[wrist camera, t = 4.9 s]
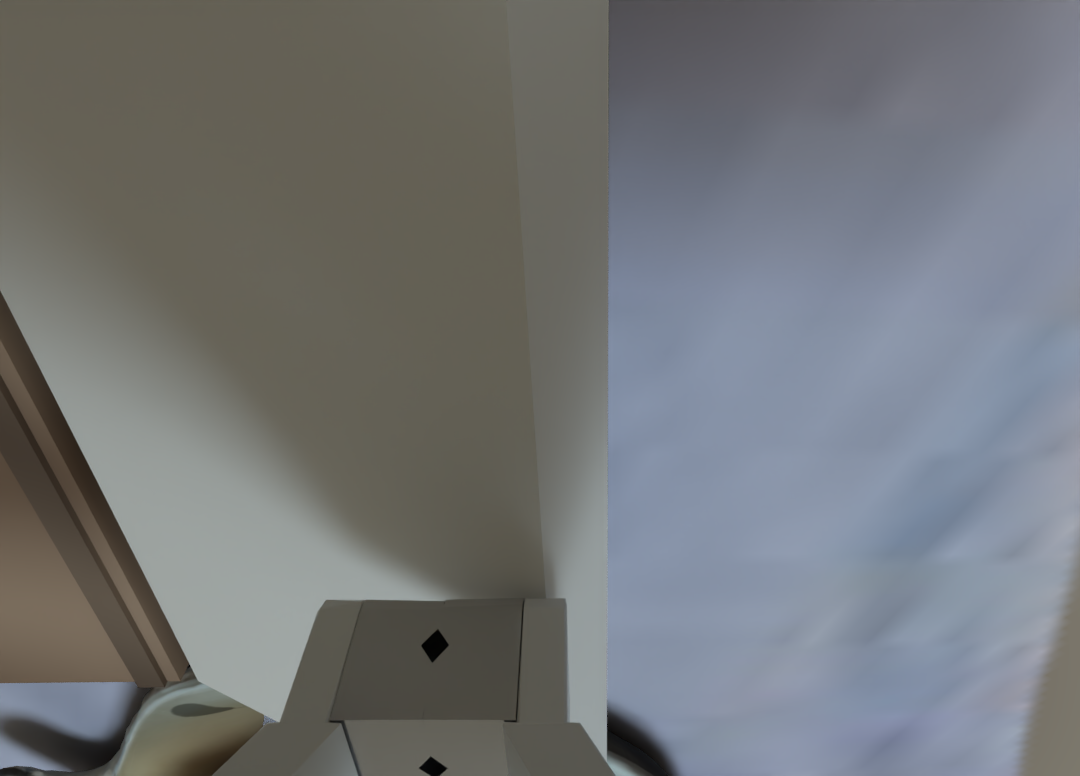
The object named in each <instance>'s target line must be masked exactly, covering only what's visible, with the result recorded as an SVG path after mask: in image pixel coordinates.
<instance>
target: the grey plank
mask: <svg viewBox="0 0 1080 776" xmlns="http://www.w3.org/2000/svg"><path fill="white" fill-rule="evenodd" d="M608 97H609V0H0V291H1V293H2V295H3V297H4V299H5V301H6V303H7V305H8V307H9V309H10V311H11V313H12V315H13V316H14V318H15V320H16V322H17V324H18V326H19V328H20V330H21V332H22V334H23V336H24V338H25V340H26V342H27V344H28V346H29V348H30V350H31V352H32V354H33V356H34V358H35V360H36V362H37V364H38V366H39V368H40V370H41V372H42V374H43V376H44V378H45V380H46V382H47V384H48V386H49V388H50V390H51V392H52V393H53V395H54V397H55V399H56V401H57V403H58V405H59V407H60V409H61V411H62V413H63V415H64V417H65V419H66V421H67V423H68V425H69V427H70V429H71V431H72V433H73V435H74V437H75V439H76V441H77V443H78V445H79V447H80V449H81V451H82V453H83V455H84V457H85V459H86V461H87V463H88V465H89V467H90V469H91V470H92V472H93V474H94V476H95V478H96V480H97V482H98V484H99V486H100V488H101V490H102V492H103V494H104V496H105V498H106V500H107V502H108V504H109V506H110V508H111V510H112V512H113V514H114V516H115V518H116V520H117V522H118V524H119V526H120V528H121V530H122V532H123V534H124V536H125V538H126V540H127V542H128V544H129V546H130V547H131V549H132V551H133V553H134V555H135V557H136V559H137V561H138V563H139V565H140V567H141V569H142V571H143V573H144V575H145V577H146V579H147V581H148V583H149V585H150V587H151V589H152V591H153V593H154V595H155V597H156V599H157V601H158V603H159V605H160V607H161V609H162V611H163V613H164V615H165V617H166V619H167V621H168V623H169V624H170V626H171V628H172V630H173V632H174V634H175V636H176V638H177V640H178V642H179V644H180V646H181V648H182V650H183V652H184V654H185V656H186V658H187V660H188V662H189V664H190V666H191V668H192V670H193V672H194V674H195V676H196V678H197V680H198V681H199V682H201V683H203V684H205V685H207V686H209V687H211V688H213V689H215V690H217V691H219V692H220V693H222V694H224V695H226V696H228V697H230V698H232V699H234V700H236V701H238V702H240V703H242V704H244V705H246V706H248V707H250V708H252V709H254V710H256V711H258V712H260V713H261V714H263V715H265V716H267V717H269V718H271V719H273V720H275V721H277V722H280V719H281V717H282V714H283V711H284V708H285V705H286V702H287V699H288V696H289V693H290V690H291V687H292V684H293V682H294V679H295V676H296V673H297V670H298V667H299V664H300V661H301V658H302V655H303V652H304V649H305V647H306V644H307V641H308V638H309V635H310V632H311V629H312V626H313V623H314V620H315V617H316V614H317V612H318V610H319V609H320V607H321V606H322V605H323V603H324V602H325V600H414V601H445V600H449V599H495V598H525V599H543V598H566V603H567V628H568V659H569V690H570V722H577V723H581V725H582V726H583V728H584V729H585V731H586V732H587V734H588V735H589V737H590V738H591V740H592V741H593V743H594V744H595V746H596V747H597V749H598V750H599V752H600V753H601V754H602V756H603V757H604V759H605V760H606V762H607V494H608Z"/></svg>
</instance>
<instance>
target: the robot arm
mask: <svg viewBox="0 0 1080 776" xmlns="http://www.w3.org/2000/svg"><path fill="white" fill-rule="evenodd" d="M212 776H616V775H615V774H614V772H613V771H612V769H611V768H610V766H609V765H608V763H607V762H606V760H605V759H604V757H603V756H602V754H601V753H600V752H599V750H598V749H597V747H596V746H595V744H594V743H593V741H592V740H591V738H590V737H589V735H588V734H587V732H586V731H585V729H584V728H583V726H582V725H581V723H577V722H570V690H569V659H568V628H567V603H566V598H543V599H525V598H495V599H449V600H445V601H414V600H325V602H324V603H323V605H322V606H321V607H320V609H319V610H318V612H317V614H316V617H315V620H314V623H313V626H312V629H311V632H310V635H309V638H308V641H307V644H306V647H305V649H304V652H303V655H302V658H301V661H300V664H299V667H298V670H297V673H296V676H295V679H294V682H293V684H292V687H291V690H290V693H289V696H288V699H287V702H286V705H285V708H284V711H283V714H282V717H281V719H280V722H274V723H266V724H265V725H264V726H263V727H262V728H261V729H260V730H259V731H258V732H257V733H256V734H255V735H254V736H253V737H252V738H251V739H249V740H248V741H247V742H246V743H245V744H244V745H243V746H242V747H241V748H240V749H239V750H238V751H237V752H236V753H235V754H234V755H233V756H232V757H231V758H230V759H229V760H228V761H227V762H225V763H224V764H223V765H222V766H221V767H220V768H219V769H218V770H217V771H216V772H215V773H214V774H213V775H212Z"/></svg>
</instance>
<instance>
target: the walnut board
mask: <svg viewBox="0 0 1080 776" xmlns="http://www.w3.org/2000/svg"><path fill="white" fill-rule="evenodd" d="M188 665H189V662H188V660H187V658H186V656H185V654H184V652H183V650H182V648H181V646H180V644H179V642H178V640H177V638H176V636H175V634H174V632H173V630H172V628H171V626H170V624H169V623H168V621H167V619H166V617H165V615H164V613H163V611H162V609H161V607H160V605H159V603H158V601H157V599H156V597H155V595H154V593H153V591H152V589H151V587H150V585H149V583H148V581H147V579H146V577H145V575H144V573H143V571H142V569H141V567H140V565H139V563H138V561H137V559H136V557H135V555H134V553H133V551H132V549H131V547H130V546H129V544H128V542H127V540H126V538H125V536H124V534H123V532H122V530H121V528H120V526H119V524H118V522H117V520H116V518H115V516H114V514H113V512H112V510H111V508H110V506H109V504H108V502H107V500H106V498H105V496H104V494H103V492H102V490H101V488H100V486H99V484H98V482H97V480H96V478H95V476H94V474H93V472H92V470H91V469H90V467H89V465H88V463H87V461H86V459H85V457H84V455H83V453H82V451H81V449H80V447H79V445H78V443H77V441H76V439H75V437H74V435H73V433H72V431H71V429H70V427H69V425H68V423H67V421H66V419H65V417H64V415H63V413H62V411H61V409H60V407H59V405H58V403H57V401H56V399H55V397H54V395H53V393H52V392H51V390H50V388H49V386H48V384H47V382H46V380H45V378H44V376H43V374H42V372H41V370H40V368H39V366H38V364H37V362H36V360H35V358H34V356H33V354H32V352H31V350H30V348H29V346H28V344H27V342H26V340H25V338H24V336H23V334H22V332H21V330H20V328H19V326H18V324H17V322H16V320H15V318H14V316H13V315H12V313H11V311H10V309H9V307H8V305H7V303H6V301H5V299H4V297H3V295H2V293H1V291H0V683H51V682H135V683H136V684H137V686H138V688H149V687H165V686H166V684H167V682H168V681H181V679H182V677H183V675H184V673H185V671H186V669H187V667H188Z"/></svg>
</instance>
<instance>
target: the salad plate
mask: <svg viewBox="0 0 1080 776" xmlns="http://www.w3.org/2000/svg"><path fill="white" fill-rule="evenodd" d="M263 721H264V715H263V714H261V713H260V712H258V711H256V710H254V709H252V708H250V707H248V706H246V705H244V704H242V703H240V702H238V701H236V700H234V699H232V698H230V697H228V696H226V695H224V694H222V693H220V692H219V691H217V690H215V689H213V688H211V687H209V686H207V685H205V684H203V683H201V682H199V681H198V680H197V678H196V676H195V674H194V672H193V670H192V668H191V667H190V668H187V669H186V671H185V673H184V675H183V677H182V679H181V681H168V682H167V684H166V686H165V687H153V688H152V689H151V690H150V691H149V692H148V693H147V694H146V695H145V697H144V699H143V700H142V704H141V708H140V710H139V711H138V712H137V713H136V714H135V715H134V717H133V719H132V721H131V724H130V725H129V726H128V728H127V729H126V733H125V738H124V740H123V742H122V744H121V748H120V750H119V751H118V752H117V753H116V754H115V756H114V757H113V758H112V759H111V761H109V762H108V763H106V764H105V765H103V766H101V767H98V768H96V769H93V770H87V771H79V772H64V771H53V770H50V771H45V770H41V769H37V768H33V767H23V766H14V767H8V768H3V769H0V776H212V775H213V774H214V773H215V772H216V771H217V770H218V769H219V768H220V767H221V766H222V765H223V764H224V763H225V762H227V761H228V760H229V759H230V758H231V757H232V756H233V755H234V754H235V753H236V752H237V751H238V750H239V749H240V748H241V747H242V746H243V745H244V744H245V743H246V742H247V741H248V740H249V739H251V738H252V737H253V736H254V735H255V734H256V733H257V732H258V731H259V730H260V729H261V728H262V727H263ZM607 763H608V765H609V766H610V768H611V769H612V771H613V772H614V774H615V775H616V776H668V775H667V774H666V773H665V772H664V771H663V770H662V768H661V767H660V766H659V765H658V764H657V763H656V762H655V761H654V760H653V759H652V758H650V757H649V756H648V755H646V754H645V753H644V752H643V751H641V750H640V749H638V748H636V747H635V746H633V745H631V744H630V743H628V742H626V741H625V740H623V739H621V738H619V737H618V736H616V735H614V734H612V733H611V732H609V731H608V730H607Z"/></svg>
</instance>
